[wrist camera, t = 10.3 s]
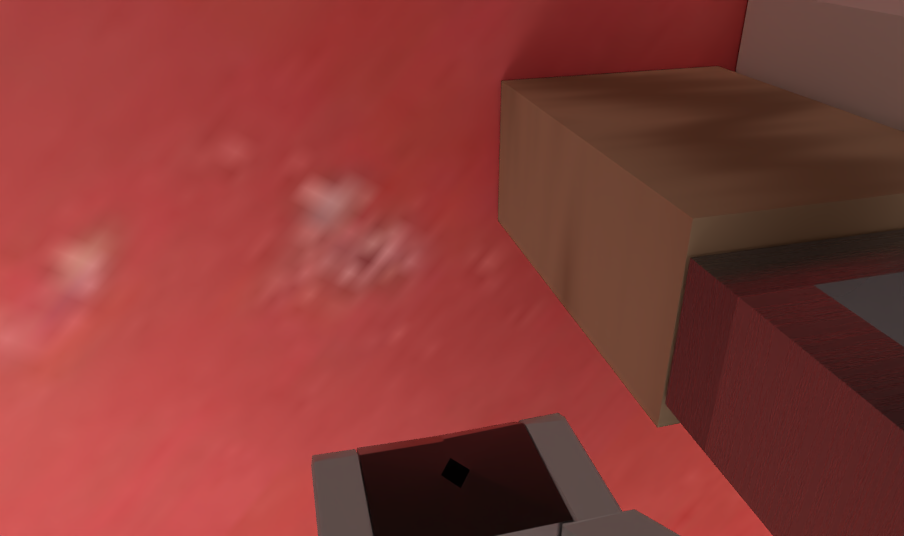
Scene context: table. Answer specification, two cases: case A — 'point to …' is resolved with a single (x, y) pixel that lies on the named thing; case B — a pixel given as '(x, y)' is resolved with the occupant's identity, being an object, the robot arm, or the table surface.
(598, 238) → the post
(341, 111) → the table surface
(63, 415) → the table surface
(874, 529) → the latch
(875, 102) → the box body
